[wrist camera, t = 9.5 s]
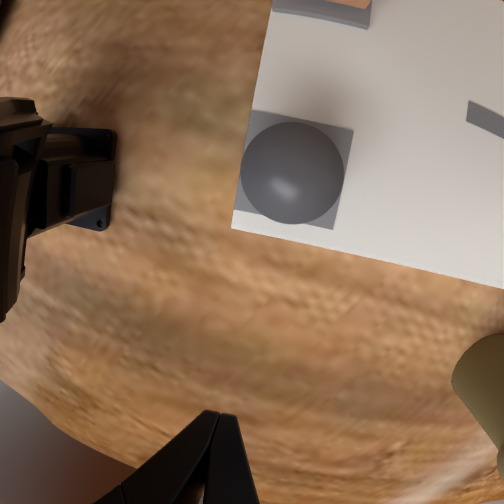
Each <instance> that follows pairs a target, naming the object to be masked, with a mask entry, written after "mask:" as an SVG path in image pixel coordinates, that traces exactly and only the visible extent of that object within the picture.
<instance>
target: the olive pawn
mask: <svg viewBox="0 0 504 504" xmlns="http://www.w3.org/2000/svg"><path fill="white" fill-rule="evenodd" d="M451 382H452V387H453V390H454V391H455V392H456V393H457V395H458V396H459V397H460V399H461V400H462V401H463V403H464V404H465V405H466V406H467V408H468V409H469V410H470V412H471V413H472V414H473V416H474V417H475V418H476V420H477V421H478V422H479V424H480V425H481V426H482V428H483V429H484V430H485V432H486V433H487V434H488V436H489V437H490V439H491V440H492V441H493V443H494V444H495V446H496V447H497V448H498V450H499V451H498V455H497V466H498V471H499V473H500V476H501V477H502V478H503V479H504V335H491V336H488V337H485V338H483V339H481V340H480V341H478V342H477V343H475V344H474V345H473V346H471V347H470V348H469V349H468V350H467V351H466V352H465V353H464V354H463V356H462V357H461V359H460V360H459V361H458V363H457V365H456V367H455V369H454V371H453V375H452V381H451Z"/></svg>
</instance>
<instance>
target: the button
mask: <svg viewBox="0 0 504 504" xmlns="http://www.w3.org/2000/svg"><path fill="white" fill-rule="evenodd" d="M240 177H241V183H242V187H243V190H244V192H245V195H246V197H247V198H248V200H249V202H250V203H251V204H252V205H253V207H254V208H255V209H256V210H257V211H258V212H260V213H261V214H262V215H264V216H265V217H267V218H269V219H271V220H273V221H276V222H279V223H283V224H303V223H307V222H310V221H313V220H315V219H317V218H319V217H321V216H322V215H323V214H325V213H326V212H327V211H328V210H329V209H330V208H331V207H332V206H333V205H334V204H335V202H336V200H337V199H338V197H339V195H340V193H341V190H342V186H343V181H344V166H343V161H342V158H341V155H340V153H339V151H338V149H337V147H336V145H335V144H334V143H333V142H332V140H331V139H330V138H329V137H328V136H327V135H326V134H324V133H323V132H322V131H320V130H319V129H317V128H315V127H313V126H310V125H308V124H304V123H299V122H284V123H279V124H275V125H272V126H270V127H268V128H266V129H264V130H263V131H261V132H260V133H259V134H258V135H256V136H255V137H254V138H253V140H252V141H251V142H250V143H249V145H248V147H247V148H246V150H245V152H244V155H243V158H242V162H241V169H240Z"/></svg>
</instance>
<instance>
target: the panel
mask: <svg viewBox="0 0 504 504" xmlns="http://www.w3.org/2000/svg"><path fill="white" fill-rule="evenodd" d="M284 122H299V123H304V124H308V125H310V126H313V127H315V128H317V129H319V130H320V131H322V132H323V133H324V134H326V135H327V136H328V137H329V138H330V139H331V140H332V142H333V143H334V144H335V145H336V147H337V149H338V151H339V153H340V155H341V158H342V161H343V166H344V181H343V186H342V190H341V193H340V195H339V197H338V199H337V200H336V202H335V204H334V205H333V206H332V207H331V208H330V209H329V210H328V211H327V212H326V213H325V214H323V215H322V216H321V217H319V218H317V219H315V220H313V221H310V222H307V223H303V224H283V223H279V222H276V221H273V220H271V219H269V218H267V217H265V216H264V215H262V214H261V213H260V212H258V211H257V210H256V209H255V208H254V207H253V205H252V204H251V203H250V202H249V200H248V198H247V197H246V195H245V192H244V190H243V187H242V183H241V177H240V175H239V181H238V187H237V193H236V199H235V205H234V213H233V219H232V225H231V228H233V229H237V230H242V231H247V232H252V233H257V234H262V235H267V236H271V237H276V238H281V239H286V240H290V241H295V242H300V243H305V244H309V245H314V246H319V247H323V248H328V249H332V250H337V251H342V252H346V253H351V254H355V255H360V256H364V257H369V258H373V259H378V260H382V261H386V262H391V263H395V264H400V265H404V266H408V267H413V268H417V269H421V270H426V271H430V272H434V273H439V274H443V275H447V276H451V277H456V278H460V279H464V280H468V281H472V282H476V283H480V284H485V285H489V286H493V287H497V288H501V289H504V2H503V1H501V0H371V1H370V3H369V4H368V6H367V7H366V8H365V9H361V8H357V7H353V6H349V5H345V4H340V3H336V2H331V1H326V0H273V3H272V8H271V12H270V17H269V22H268V27H267V32H266V37H265V42H264V47H263V52H262V57H261V62H260V67H259V73H258V78H257V83H256V88H255V94H254V99H253V104H252V110H251V113H250V119H249V124H248V130H247V135H246V141H245V146H244V152H245V150H246V148H247V147H248V145H249V143H250V142H251V141H252V140H253V138H254V137H255V136H256V135H258V134H259V133H260V132H261V131H263V130H264V129H266V128H268V127H270V126H272V125H275V124H279V123H284ZM244 152H243V155H244Z"/></svg>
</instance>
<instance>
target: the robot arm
mask: <svg viewBox="0 0 504 504" xmlns="http://www.w3.org/2000/svg"><path fill="white" fill-rule="evenodd" d="M52 125H53V123H51V122H49V121H46V120H44V119H43V118H42V117H40V116H38V113H37V112H36V108H35V103H34V100H31V99H28V98H18V97H0V323H1V322H3V321H4V320H5V319H6V313H7V312H8V311H9V310H10V309H11V307H12V306H13V305H14V304H15V302H16V301H17V297H18V294H19V290H20V282H21V280H22V279H23V278H24V276H25V266H24V259H25V249H26V240H27V239H28V238H30V237H32V236H35V235H37V234H40V233H42V232H45V231H47V230H50V229H52V228H55V227H57V226H60V225H62V224H70V225H74V226H78V227H82V228H87V229H91V230H95V231H103V230H105V229H107V228H108V226H109V214H110V204H111V202H112V191H113V179H114V169H115V164H114V156H115V148H116V140H117V134H116V132H115V131H114V130H111V129H92V128H60V127H52ZM108 134H109V135H110V140H109V141H108V140H107V136H108ZM100 220H101V221H102V223H103V226H101V225H100ZM203 492H204V497H203V504H260V503H259V499H258V496H257V492H256V488H255V485H254V481H253V477H252V474H251V470H250V466H249V463H248V459H247V455H246V451H245V447H244V443H243V439H242V435H241V431H240V427H239V423H238V419H237V417H236V415H232V414H227V413H221V415H220V413H219V412H217V411H212V410H204V411H203V412H202V413H201V414H200V415H198V416H197V417H196V418H195V419H194V420H193V421H192V422H191V423H190V424H189V425H187V426H186V427H185V428H184V429H183V430H182V431H181V432H180V433H179V434H177V435H176V436H175V437H174V438H173V439H172V440H171V441H169V442H168V443H167V444H166V445H165V446H164V447H163V448H161V449H160V450H159V451H158V452H157V453H156V454H154V455H153V456H152V457H151V458H150V459H148V460H147V461H146V462H145V463H144V464H143V465H141V466H140V467H139V468H138V469H136V470H135V471H134V472H133V473H132V474H130V475H129V476H128V477H127V478H125V479H124V480H123V481H122V482H121V483H120V485H119V484H118V485H117V486H115V487H114V488H113V489H111V490H110V491H109V492H108V493H106V494H105V495H103V496H102V497H100V498H99V499H98V500H96V501H95V502H93V503H92V504H199V502H200V499H201V497H202V494H203Z"/></svg>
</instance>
